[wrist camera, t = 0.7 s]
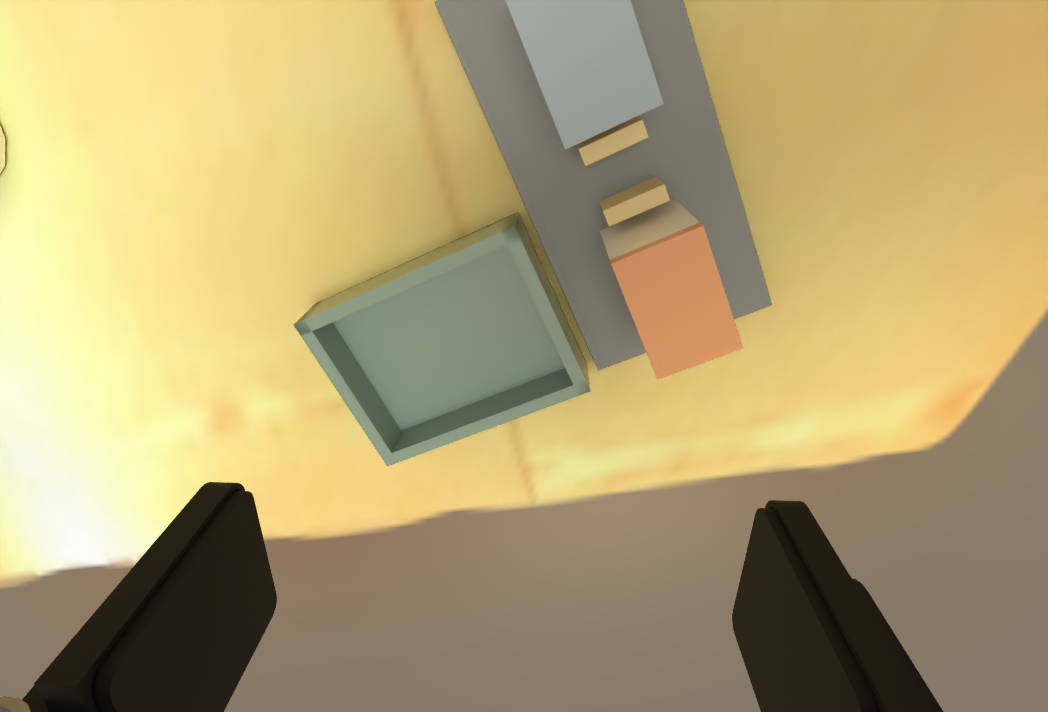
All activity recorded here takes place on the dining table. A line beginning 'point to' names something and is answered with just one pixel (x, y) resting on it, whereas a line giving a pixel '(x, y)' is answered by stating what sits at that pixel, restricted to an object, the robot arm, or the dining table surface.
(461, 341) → the tray
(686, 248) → the block
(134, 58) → the dining table surface
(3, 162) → the white cup
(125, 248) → the dining table surface
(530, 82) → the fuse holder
